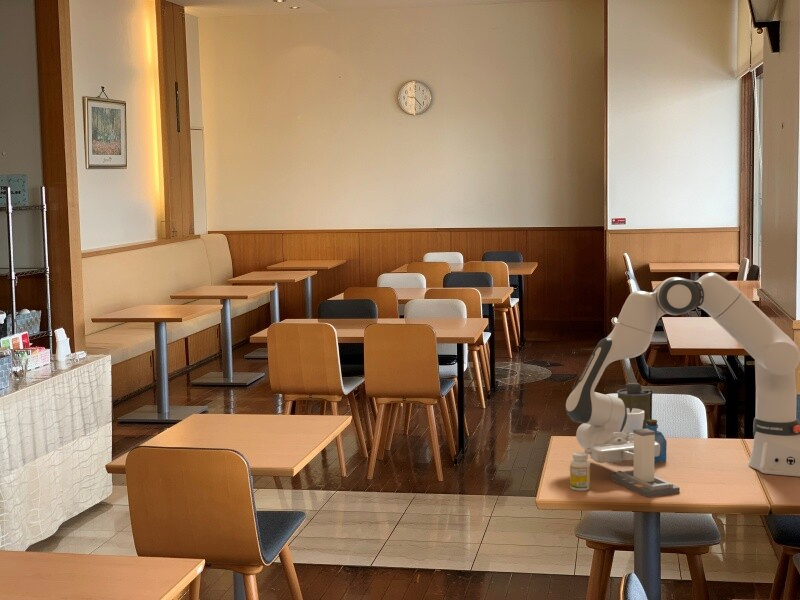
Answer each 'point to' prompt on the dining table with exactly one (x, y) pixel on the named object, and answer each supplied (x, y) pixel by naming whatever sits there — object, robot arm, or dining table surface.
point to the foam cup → (633, 420)
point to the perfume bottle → (658, 440)
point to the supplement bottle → (580, 472)
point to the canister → (637, 400)
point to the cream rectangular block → (644, 454)
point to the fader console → (645, 484)
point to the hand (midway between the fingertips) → (640, 457)
